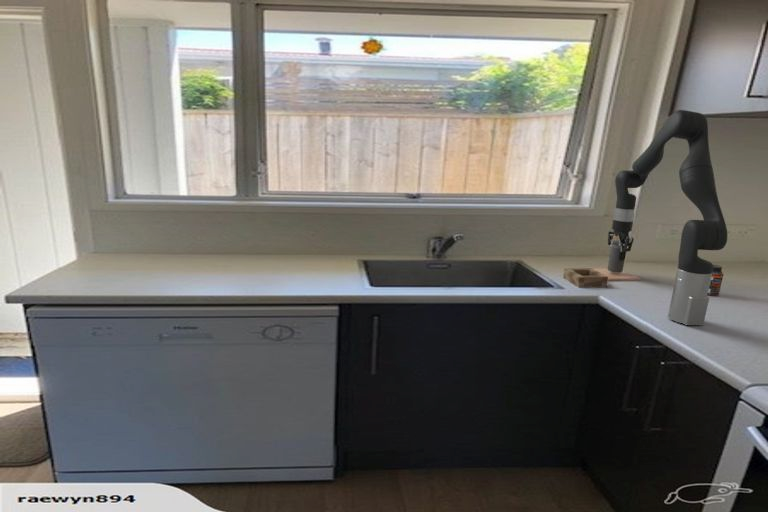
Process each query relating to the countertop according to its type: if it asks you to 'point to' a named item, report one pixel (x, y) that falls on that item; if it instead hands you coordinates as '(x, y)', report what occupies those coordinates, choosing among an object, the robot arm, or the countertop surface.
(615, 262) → the bottle
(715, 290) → the supplement bottle
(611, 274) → the tile
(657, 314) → the countertop surface
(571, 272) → the pocket holder
